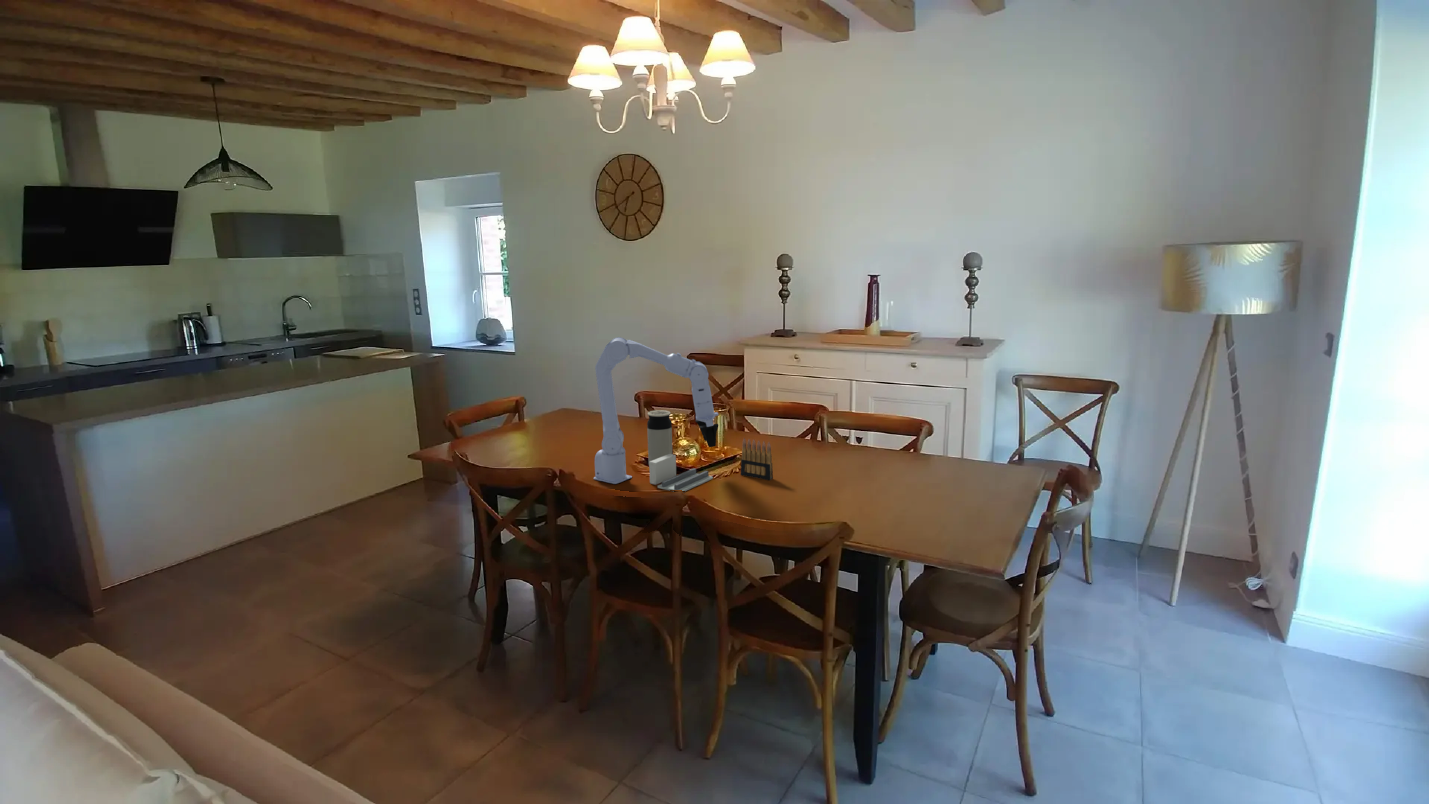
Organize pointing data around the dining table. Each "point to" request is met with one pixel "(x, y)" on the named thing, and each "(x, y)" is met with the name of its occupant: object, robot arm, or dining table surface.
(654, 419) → the travel mug
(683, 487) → the track
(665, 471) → the door panel
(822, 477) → the dining table surface
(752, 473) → the ammunition clip
